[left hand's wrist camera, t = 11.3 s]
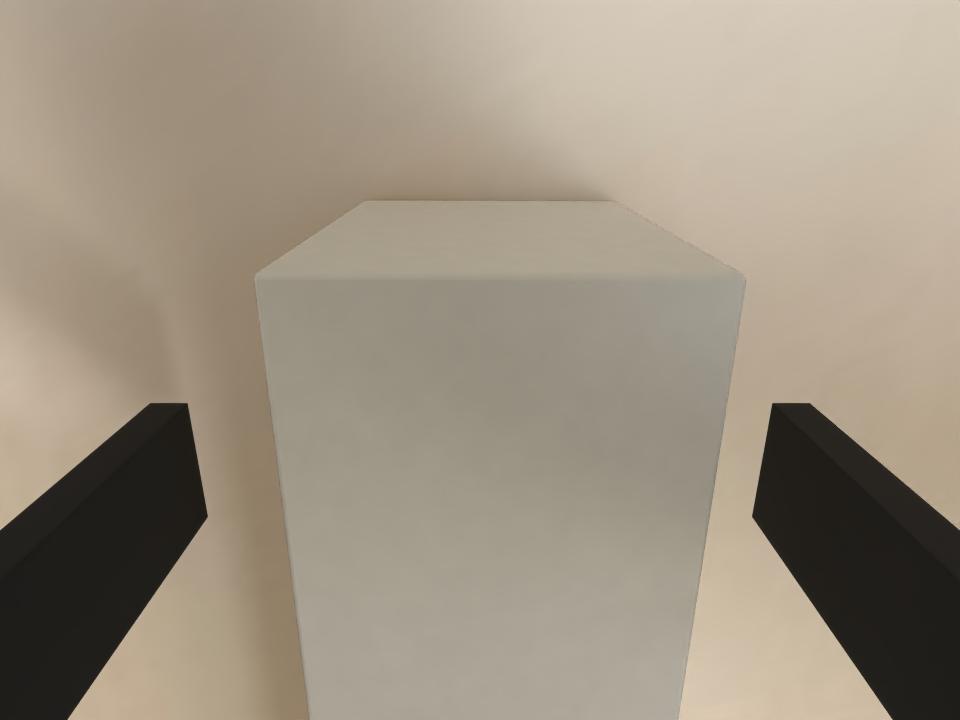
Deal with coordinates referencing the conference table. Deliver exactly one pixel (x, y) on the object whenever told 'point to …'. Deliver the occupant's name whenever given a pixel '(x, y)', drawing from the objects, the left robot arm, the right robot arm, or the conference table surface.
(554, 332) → the plank
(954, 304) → the conference table surface
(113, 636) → the left robot arm
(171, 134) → the conference table surface
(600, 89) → the conference table surface
